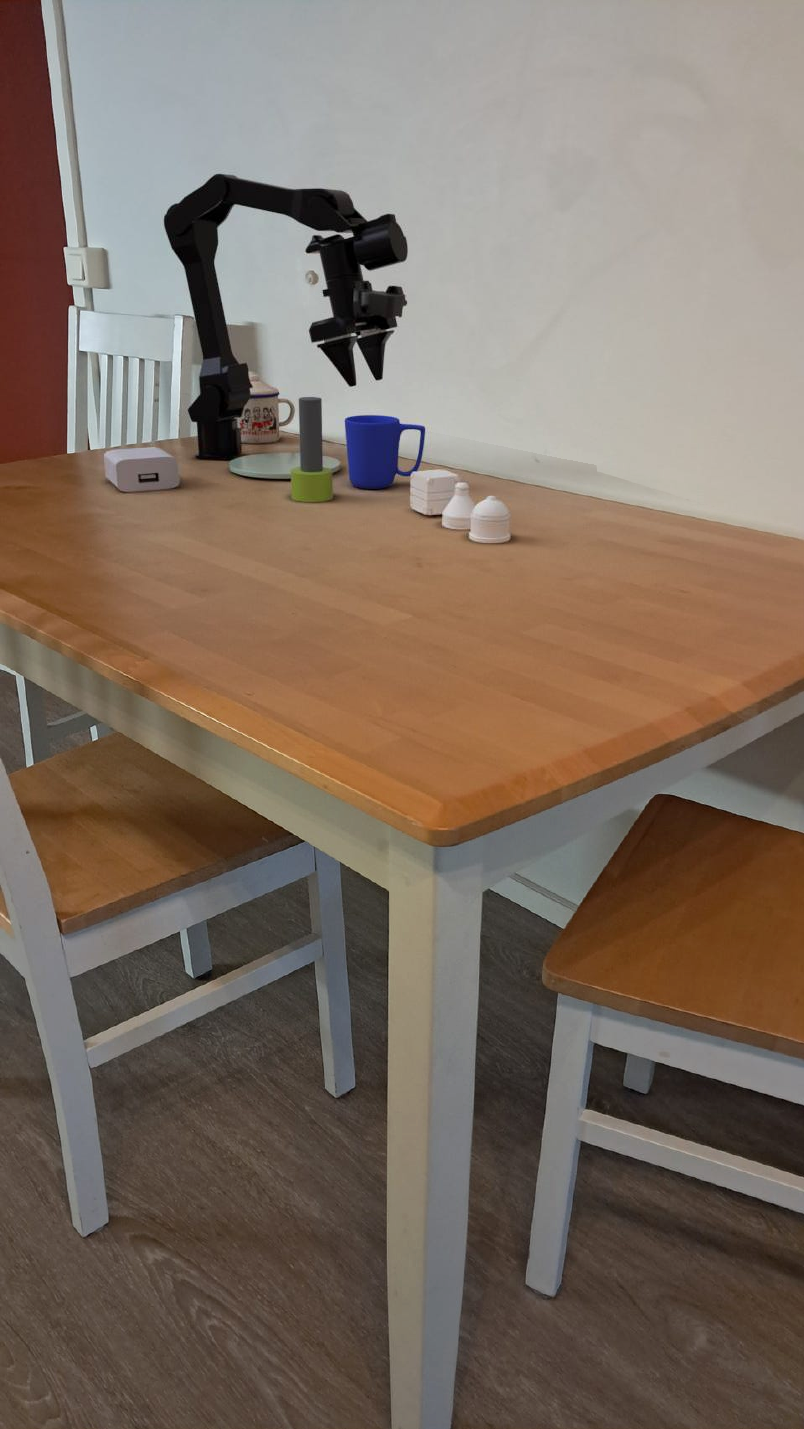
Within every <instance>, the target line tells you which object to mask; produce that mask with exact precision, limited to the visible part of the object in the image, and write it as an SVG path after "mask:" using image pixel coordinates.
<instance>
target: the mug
mask: <svg viewBox="0 0 804 1429" xmlns="http://www.w3.org/2000/svg"><path fill="white" fill-rule="evenodd" d="M400 421H401V420H400V419H399V418H398V417H396V416H389V415H380V414H361V415H352V416H348V417H346V418H345V419H344V428H345V429H344V431H345V442H346V454H347V455H346V456H347V466H348V467H347V468H348V477H349V482H350V484H351V485H353V487H355V488H357V489H358V488H359V489H364V490H379V489H385V488H386V489H387V488H389V487H391V486H392V485H393V484H394V482H395V478H396V475H398V476H401V477H411V474H412V472H416V471H419V468H420V466H421V463H422V458H423V454H424V448H425V447H424V446H425V438H426V427H425V426H424V425H420V424H411V423H401V422H400ZM406 430H407V431H408V430H416V431H419V432H420V435H419V446H418V453H417V458H416V461H415V464H414V465H413V467H412V468H411V469H410V470H408V471H402V470H400V469H399V450H400V441H401V436H402V434H403V432H404V431H406Z"/></svg>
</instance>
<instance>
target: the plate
mask: <svg viewBox="0 0 804 1429" xmlns="http://www.w3.org/2000/svg"><path fill="white" fill-rule="evenodd" d="M297 467H300V452H267V453H266V452H265V453H257V454H250V455H248V454H247V455H244V456H240V457H239V456H238V457H235V458H233V459H230V461H229V462H228V469H229V471H230V472H231V473H234V474H237V475H240V476H245V477H250V478H256V479H257V478H258V479H271V480H272V479H273V480H274V479H277V480H278V479H279V480H282V479H283V480H289V479H290V480H291V469H293V468H297ZM323 467H327V468H330V469H332V471H333V474H334V473H336V472H338V471H339V470H340V469H341V462H340V460H339V459H337V458H335V457H332V456H329V455H323Z"/></svg>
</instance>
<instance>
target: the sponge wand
mask: <svg viewBox="0 0 804 1429" xmlns="http://www.w3.org/2000/svg"><path fill="white" fill-rule="evenodd" d="M322 401H323V400H322V397H319V396H318V397H317V396H303V397H299V398H298V422H299V423H298V425H299V426H298V427H299V428H298V429H299V453H300V467H297V468H293V469H291V479H290V489H291V490H290V491H291V492H290V493H291V499H292V500H293V501H297V502H302V503H322V502H323V503H324V502H328V501H330V500H333V499H334V484H333V483H334V480H333V478H334V476H333V474H334V473H333V471H332V469H330V468H327V467H323V456H324V455H323V454H324V453H323V410H322V409H323V406H322V405H323V404H322Z"/></svg>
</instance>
